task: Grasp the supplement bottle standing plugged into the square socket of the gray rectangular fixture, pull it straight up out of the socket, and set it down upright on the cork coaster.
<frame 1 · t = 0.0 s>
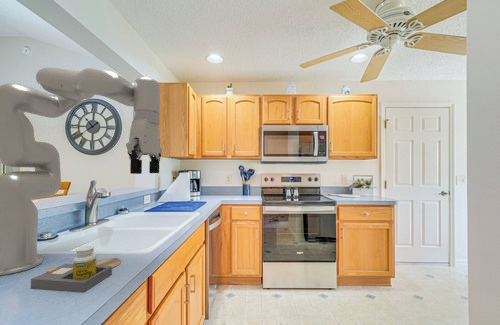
hand: (145, 173, 69), 31 cm above the counter, tool pointing down, fingers open, 9 cm apart
supplement bottle: (84, 282, 64), resting in gray rectangular fixture
cork coaster: (105, 265, 75), on the counter
gray rectangular fixture: (73, 281, 65), on the counter
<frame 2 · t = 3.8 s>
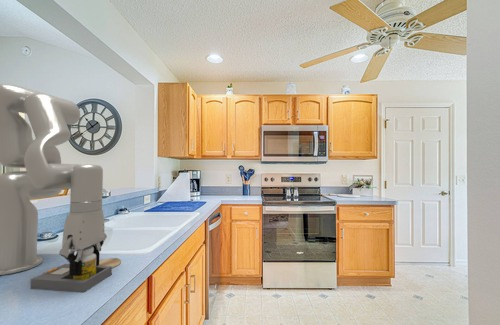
hand: (84, 269, 64), 4 cm above the counter, tool pointing down, fingers closed on supplement bottle, 5 cm apart
supplement bottle: (84, 282, 64), resting in gray rectangular fixture, touching gripper
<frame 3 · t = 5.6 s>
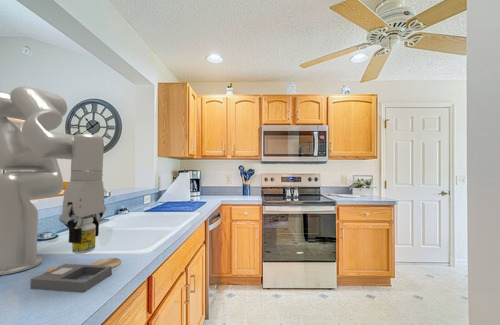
hand: (84, 238, 65), 12 cm above the counter, tool pointing down, fingers closed on supplement bottle, 5 cm apart
supplement bottle: (83, 251, 65), point 9 cm above the counter, touching gripper
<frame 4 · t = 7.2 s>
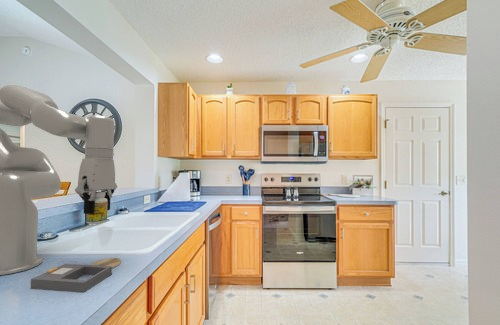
hand: (97, 211, 71), 19 cm above the counter, tool pointing down, fingers closed on supplement bottle, 5 cm apart
supplement bottle: (96, 223, 71), point 15 cm above the counter, touching gripper
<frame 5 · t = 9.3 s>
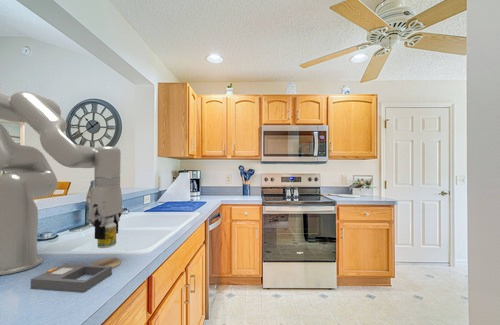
hand: (106, 235, 76), 10 cm above the counter, tool pointing down, fingers closed on supplement bottle, 5 cm apart
supplement bottle: (106, 246, 76), point 6 cm above the counter, touching gripper
when the fingers open (6 cm above the counter, at t = 11.0 s): supplement bottle drops 2 cm, resting on cork coaster.
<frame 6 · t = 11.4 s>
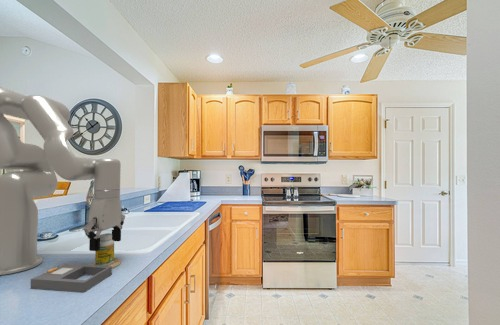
hand: (106, 245, 76), 7 cm above the counter, tool pointing down, fingers open, 9 cm apart
supplement bottle: (104, 264, 75), resting on cork coaster
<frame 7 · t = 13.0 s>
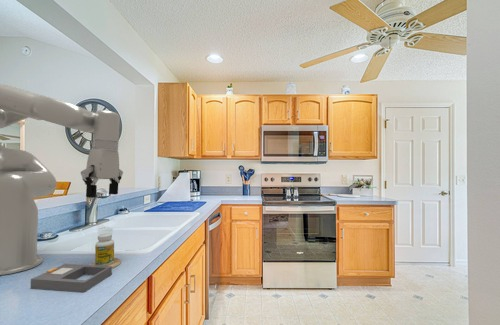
hand: (102, 195, 77), 23 cm above the counter, tool pointing down, fingers open, 9 cm apart
nothing on the counter moved.
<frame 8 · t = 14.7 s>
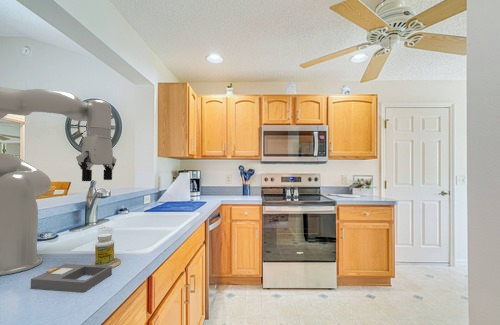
hand: (97, 180, 82), 28 cm above the counter, tool pointing down, fingers open, 9 cm apart
nothing on the counter moved.
at the end: supplement bottle 0.2 cm off-centre on the cork coaster, point 0.4 cm above the cork coaster's base; supplement bottle tilted 1°; the gripper is holding nothing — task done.
